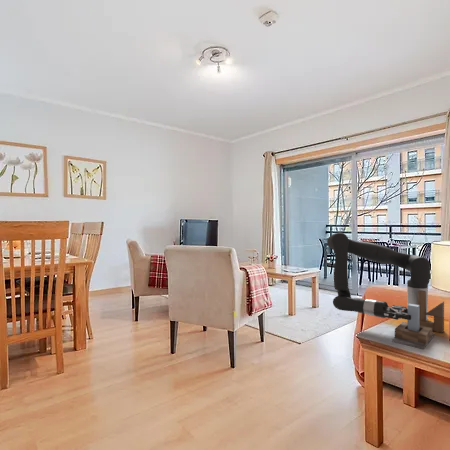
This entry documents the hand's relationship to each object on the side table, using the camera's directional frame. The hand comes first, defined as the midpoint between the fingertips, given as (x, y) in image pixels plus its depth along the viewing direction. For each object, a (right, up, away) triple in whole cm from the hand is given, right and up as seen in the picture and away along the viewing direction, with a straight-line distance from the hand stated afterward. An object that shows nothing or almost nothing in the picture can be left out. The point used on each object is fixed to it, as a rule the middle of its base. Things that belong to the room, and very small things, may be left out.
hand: (413, 315), depth 142 cm
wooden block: (+14, -10, +11) cm, 20 cm away
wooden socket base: (0, -10, 0) cm, 10 cm away
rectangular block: (0, -9, 0) cm, 10 cm away
